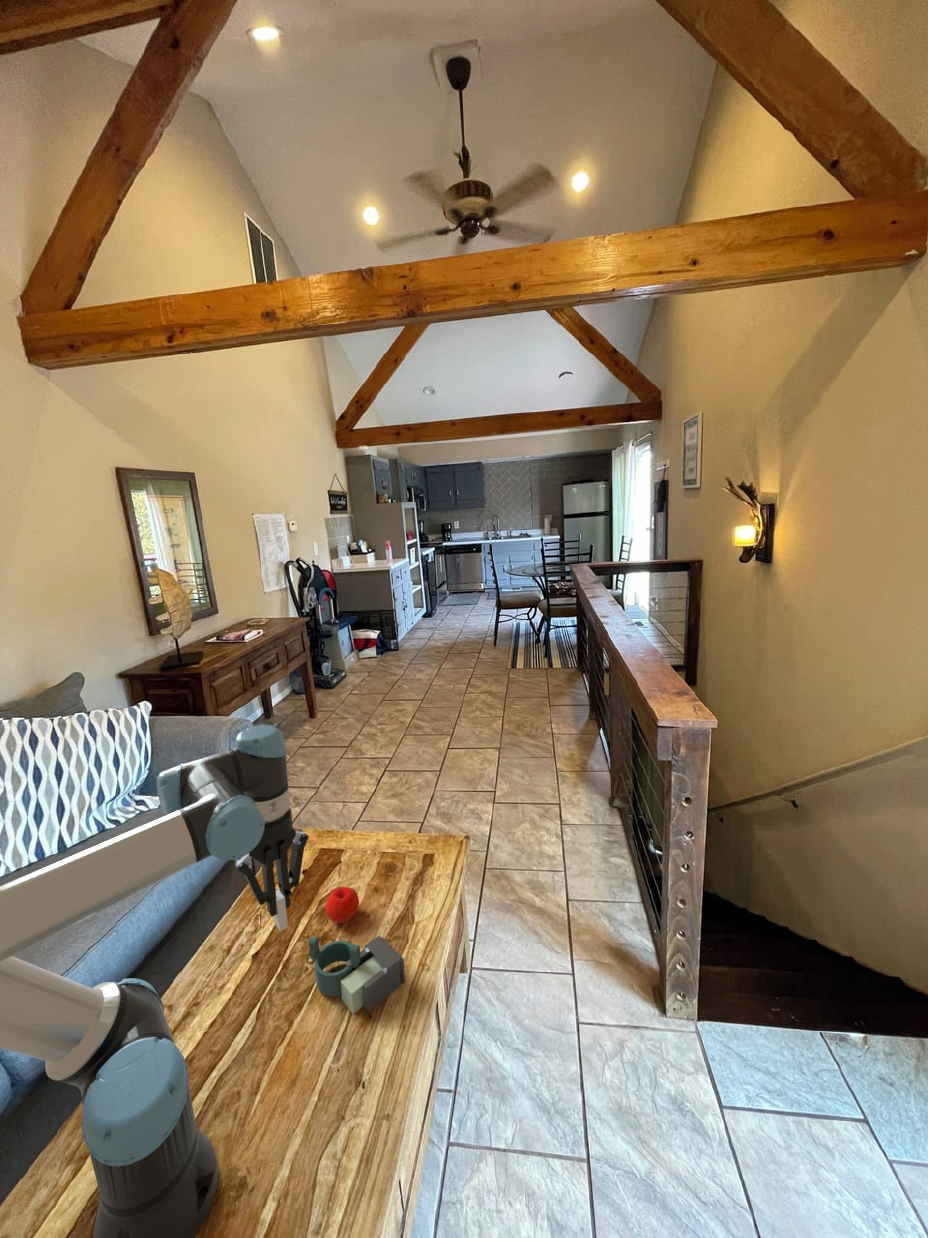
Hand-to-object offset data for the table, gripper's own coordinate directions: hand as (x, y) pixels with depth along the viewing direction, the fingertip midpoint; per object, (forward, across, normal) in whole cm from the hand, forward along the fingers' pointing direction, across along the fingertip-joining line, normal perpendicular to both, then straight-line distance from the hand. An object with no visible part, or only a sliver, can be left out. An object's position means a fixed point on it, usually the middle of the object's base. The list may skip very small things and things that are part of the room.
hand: (281, 925), depth 94 cm
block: (+22, +14, -6) cm, 26 cm away
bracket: (+21, +11, +1) cm, 24 cm away
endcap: (+21, +15, -6) cm, 27 cm away
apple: (+21, +20, +15) cm, 33 cm away
